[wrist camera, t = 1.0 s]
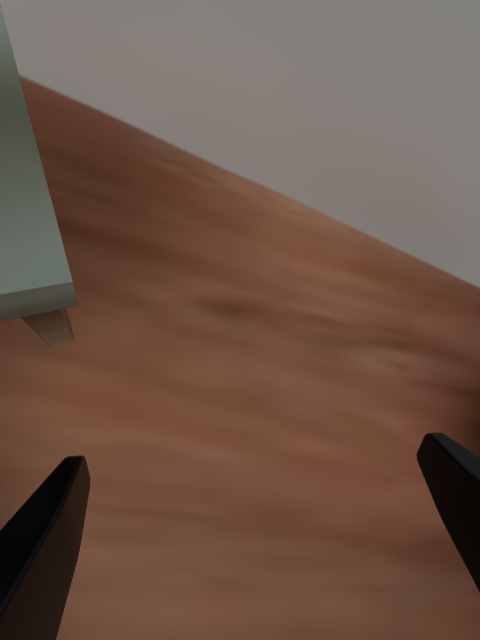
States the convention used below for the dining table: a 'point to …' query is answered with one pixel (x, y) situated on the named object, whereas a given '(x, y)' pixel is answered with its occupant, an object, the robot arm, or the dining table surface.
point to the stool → (28, 220)
